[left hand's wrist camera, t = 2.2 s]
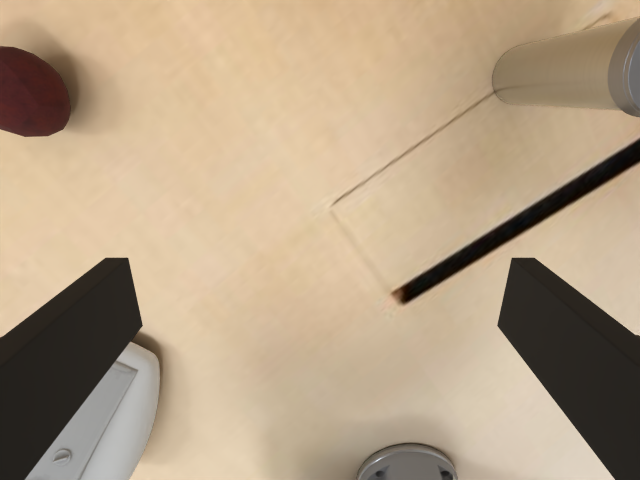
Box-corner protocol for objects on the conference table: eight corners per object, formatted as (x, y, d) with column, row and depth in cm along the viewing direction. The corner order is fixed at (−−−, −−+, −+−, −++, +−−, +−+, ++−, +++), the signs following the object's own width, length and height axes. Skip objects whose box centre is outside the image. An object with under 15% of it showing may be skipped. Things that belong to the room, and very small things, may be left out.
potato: (42, 34, 34) (-23, 20, 28) (103, 107, 37) (56, 110, 30) (-8, 82, 36) (-82, 79, 29) (53, 149, 38) (-2, 160, 32)
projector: (212, 439, 54) (176, 556, 40) (75, 472, 56) (-2, 592, 43) (141, 317, 46) (66, 411, 32) (-14, 361, 48) (-144, 466, 35)
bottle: (538, 33, 34) (726, -19, 19) (553, 87, 36) (737, 82, 20) (484, 63, 35) (619, 38, 19) (501, 114, 37) (638, 129, 21)
